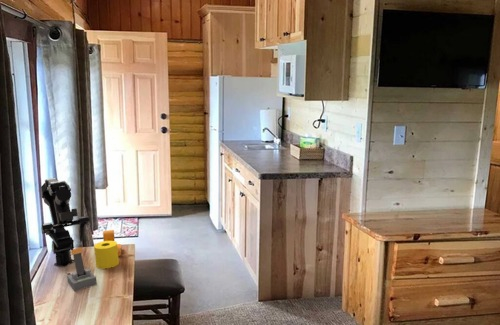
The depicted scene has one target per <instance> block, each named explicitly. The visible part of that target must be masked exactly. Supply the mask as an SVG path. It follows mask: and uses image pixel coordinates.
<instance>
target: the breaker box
mask: <svg viewBox="0 0 500 325" xmlns="http://www.w3.org/2000/svg"><path fill="white" fill-rule="evenodd" d="M84 270H85V275H83V276H79V277H78V276H77V272H75V271H74V272H72V273H70V274H71V275H66V277H67V278H66V279H67V283H68V285H69V286H70V287H71V289H72V290H73V291H74V292H76V291H80V290H83V289H86V288H90V287H94V286H97V285H98V282H97V277H96V275H94V273H93V272H92V271H91V269H90V268H86V269H85V268H84Z"/></svg>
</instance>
